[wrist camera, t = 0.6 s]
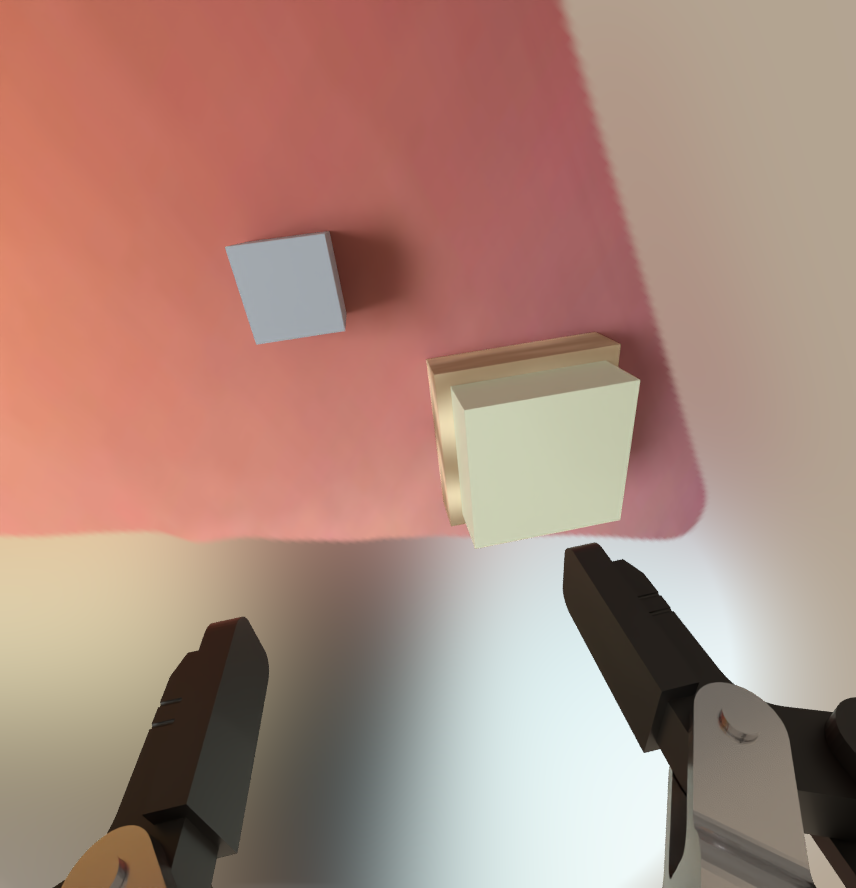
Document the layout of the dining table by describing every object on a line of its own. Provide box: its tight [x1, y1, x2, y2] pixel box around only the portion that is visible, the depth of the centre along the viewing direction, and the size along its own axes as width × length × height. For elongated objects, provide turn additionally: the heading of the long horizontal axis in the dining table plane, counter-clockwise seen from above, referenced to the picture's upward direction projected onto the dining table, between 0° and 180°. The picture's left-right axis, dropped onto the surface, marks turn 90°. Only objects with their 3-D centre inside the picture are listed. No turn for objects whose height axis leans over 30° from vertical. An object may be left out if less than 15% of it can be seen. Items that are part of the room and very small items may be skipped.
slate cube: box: [225, 231, 346, 345], centre depth 25 cm, size 5×5×5 cm
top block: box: [451, 360, 640, 549], centre depth 29 cm, size 11×11×4 cm
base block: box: [426, 332, 621, 526], centre depth 33 cm, size 13×13×4 cm
